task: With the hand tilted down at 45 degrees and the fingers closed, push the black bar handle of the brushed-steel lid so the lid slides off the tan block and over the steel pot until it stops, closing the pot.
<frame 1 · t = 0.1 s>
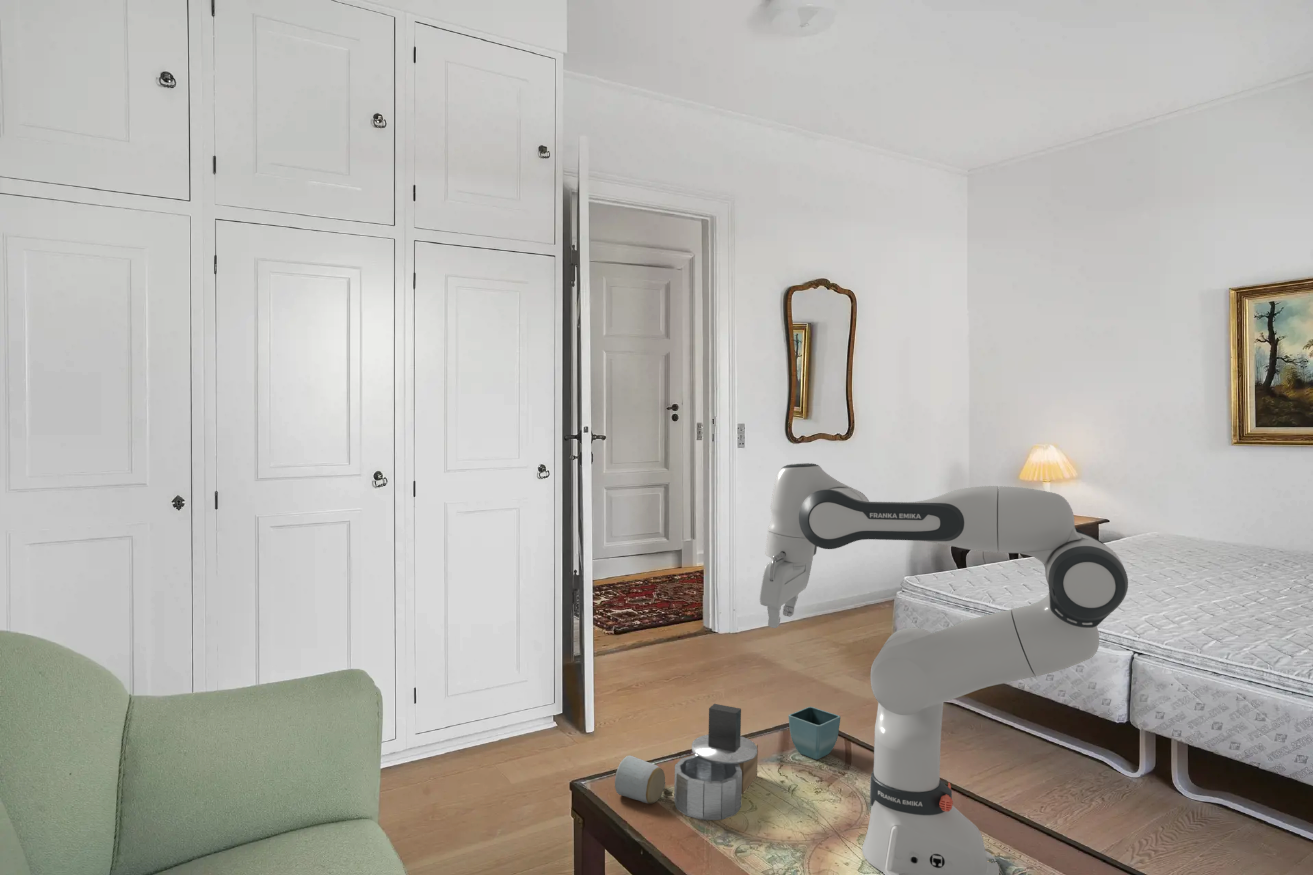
hand: (780, 620, 147), 39 cm above the table, tool pointing down, fingers open, 8 cm apart
ceramic mug: (642, 796, 159), on the table
pot: (707, 803, 156), on the table
tan block: (727, 779, 166), on the table
flower pot: (813, 754, 180), on the table
lid: (724, 729, 164), point 12 cm above the table, slide at -9.0 cm
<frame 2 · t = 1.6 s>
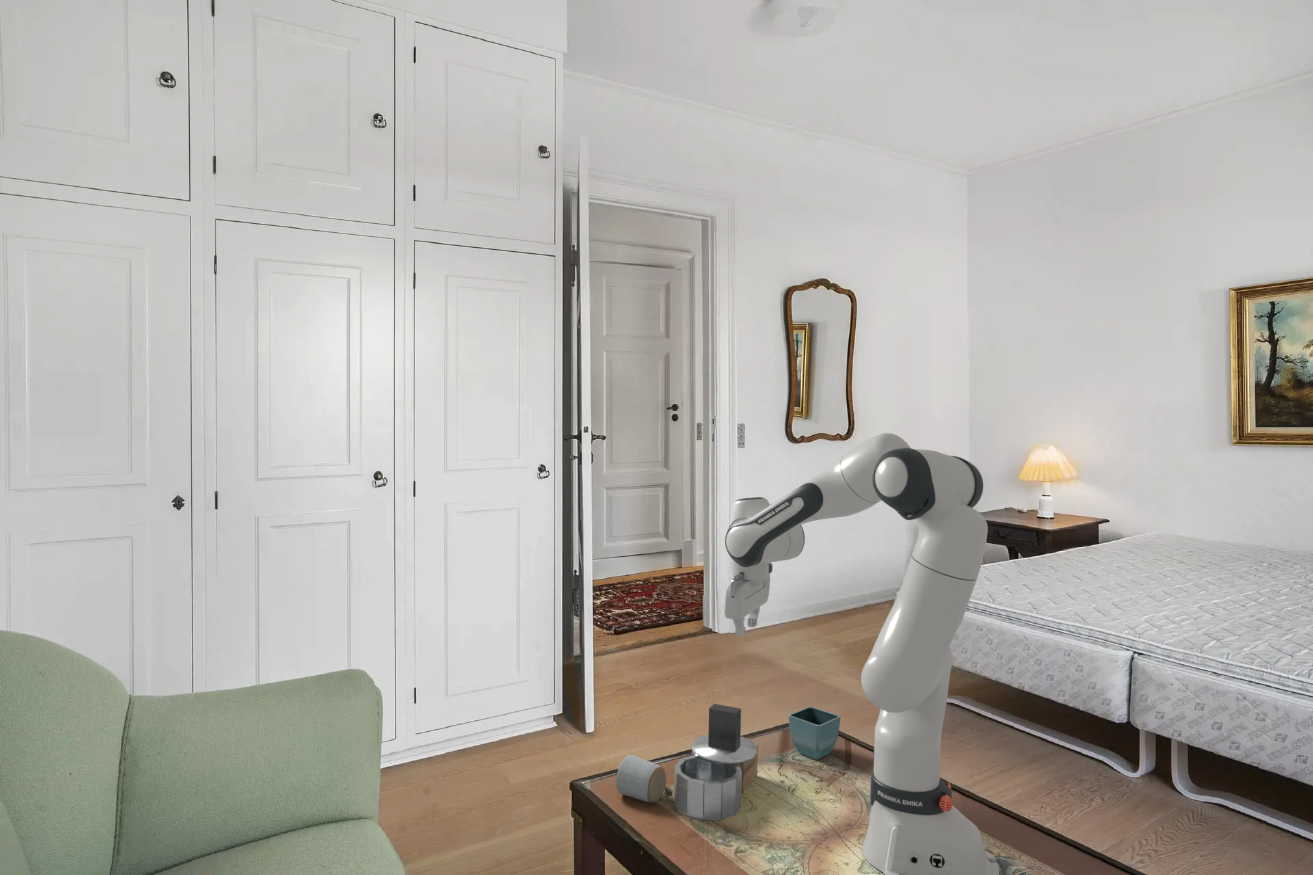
hand: (746, 630, 175), 29 cm above the table, tool pointing down, fingers open, 7 cm apart
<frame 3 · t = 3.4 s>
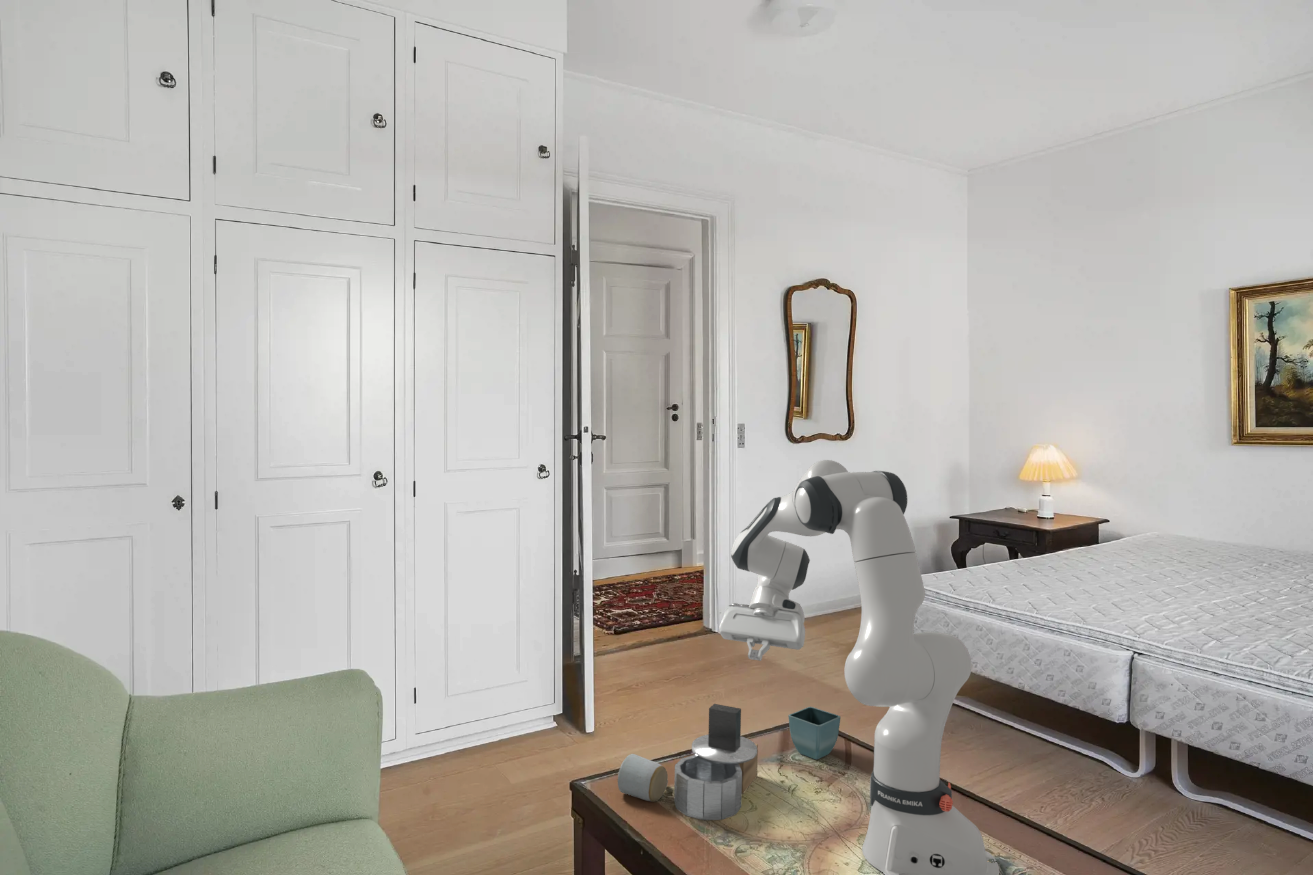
hand: (754, 658, 180), 22 cm above the table, tool tilted 45°, fingers closed
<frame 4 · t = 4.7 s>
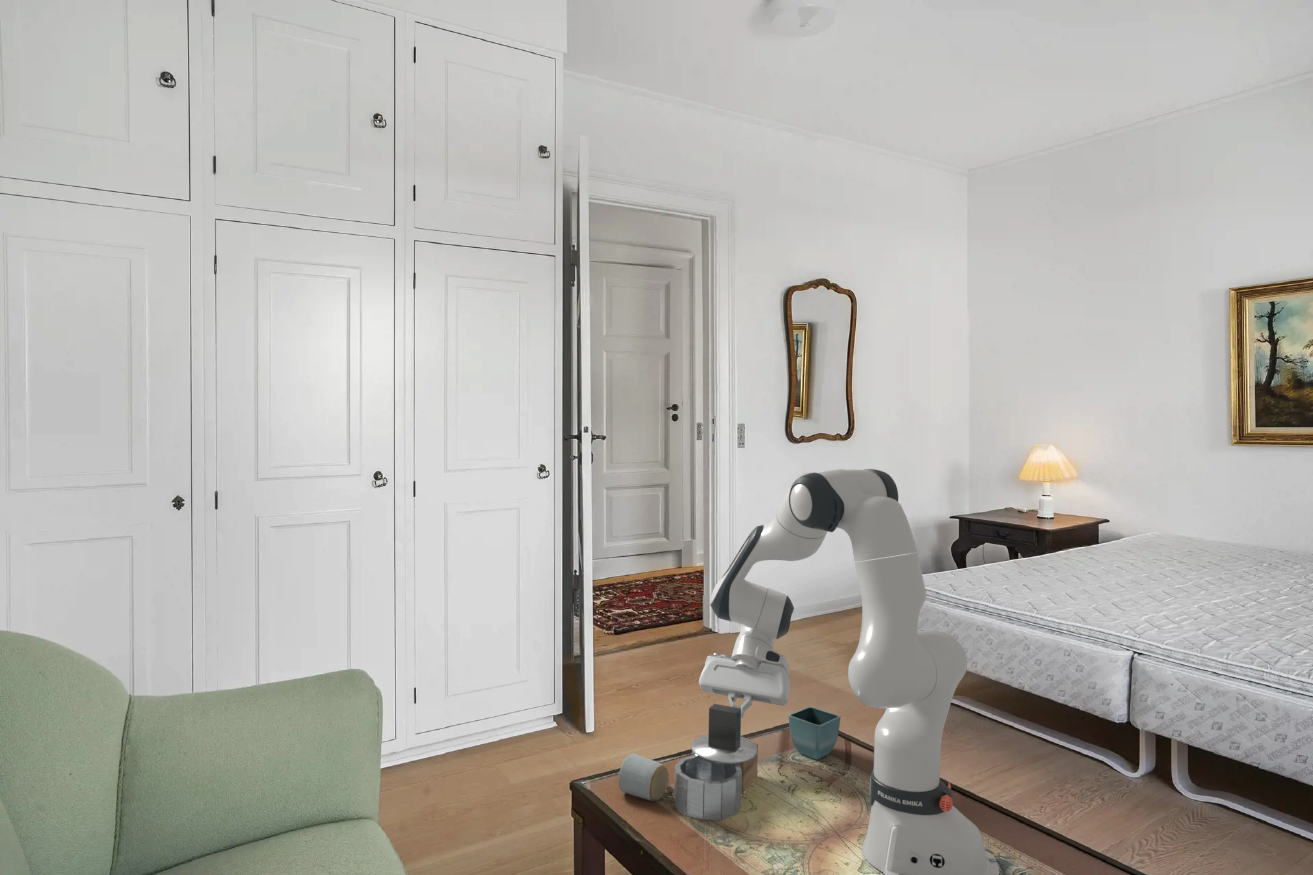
hand: (735, 715, 169), 12 cm above the table, tool tilted 45°, fingers closed
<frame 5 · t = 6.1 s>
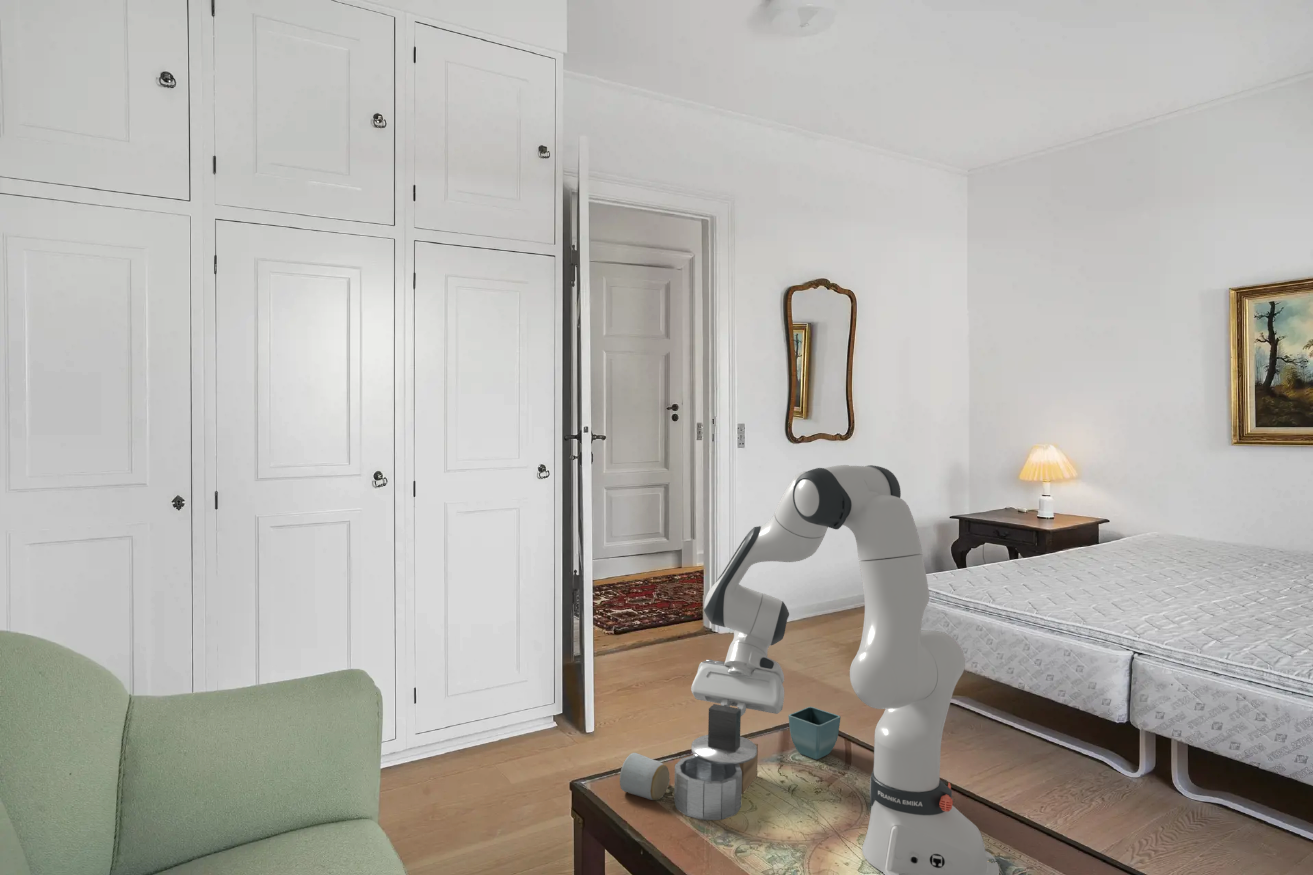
hand: (728, 723, 165), 12 cm above the table, tool tilted 45°, fingers closed, pressing on lid
lid: (724, 729, 163), point 12 cm above the table, slide at -8.8 cm, touching gripper
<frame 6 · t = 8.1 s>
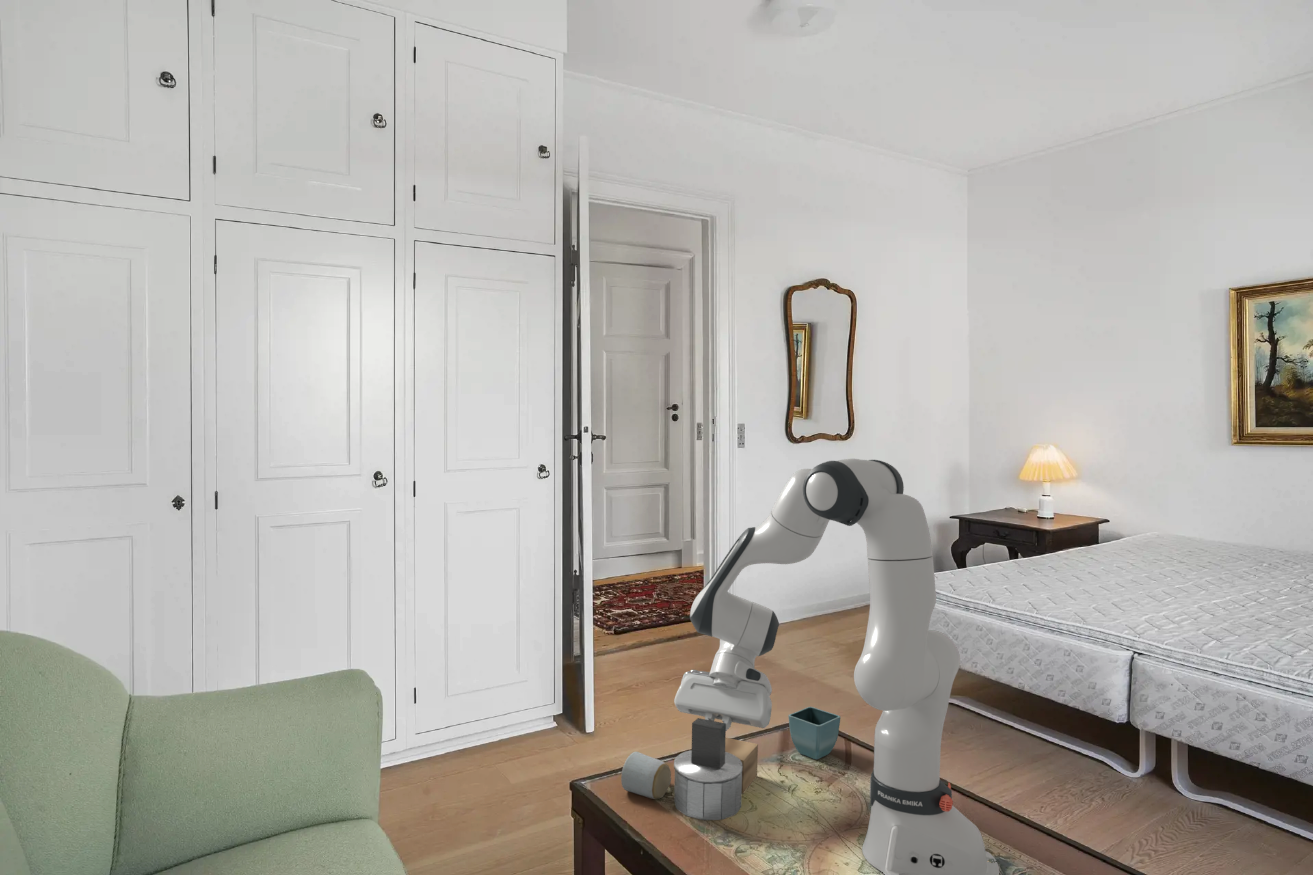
hand: (712, 738, 157), 12 cm above the table, tool tilted 45°, fingers closed, pressing on lid
lid: (708, 745, 155), point 12 cm above the table, slide at 0.1 cm, touching gripper
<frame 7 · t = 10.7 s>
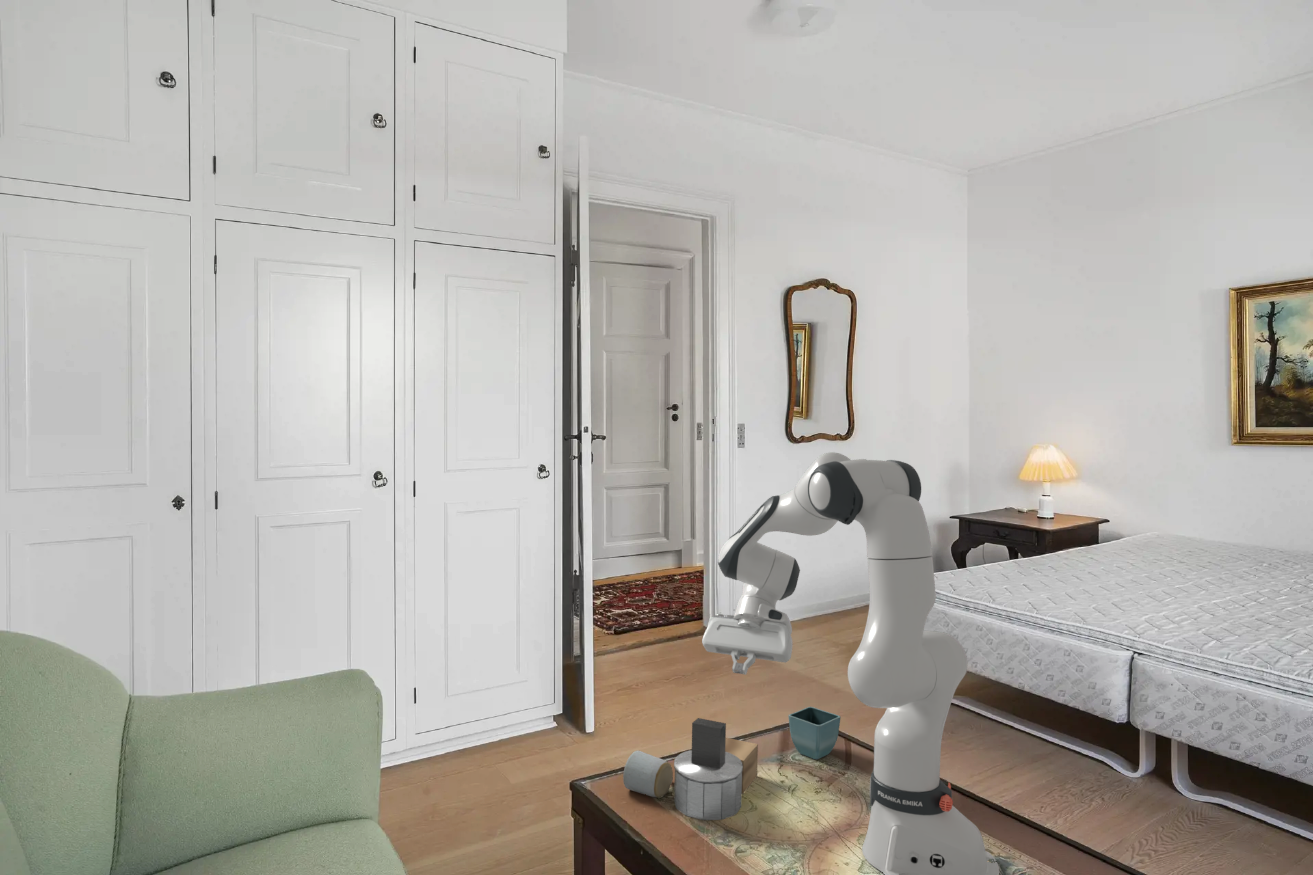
hand: (739, 672, 171), 21 cm above the table, tool tilted 45°, fingers closed
lid: (708, 744, 155), point 12 cm above the table, slide at 0.0 cm
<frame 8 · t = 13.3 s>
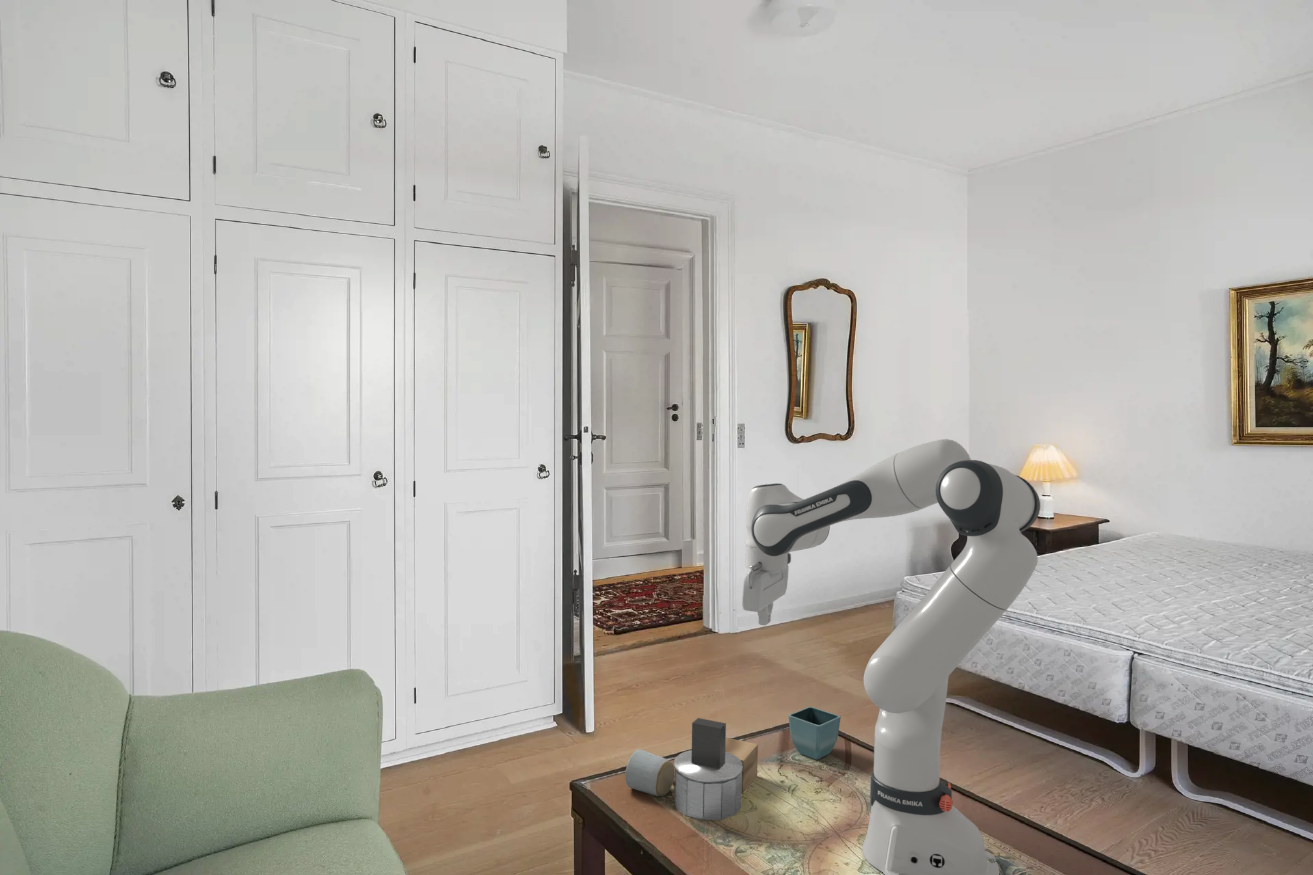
hand: (764, 623, 167), 33 cm above the table, tool pointing down, fingers closed
at the end: lid slide at 0.0 cm; lid 0.0 cm from the pot (horizontally) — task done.
